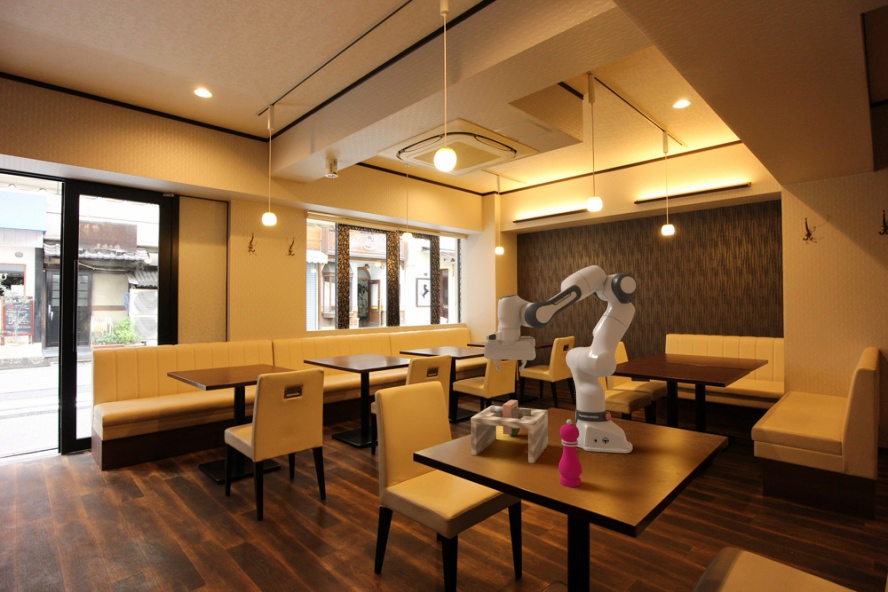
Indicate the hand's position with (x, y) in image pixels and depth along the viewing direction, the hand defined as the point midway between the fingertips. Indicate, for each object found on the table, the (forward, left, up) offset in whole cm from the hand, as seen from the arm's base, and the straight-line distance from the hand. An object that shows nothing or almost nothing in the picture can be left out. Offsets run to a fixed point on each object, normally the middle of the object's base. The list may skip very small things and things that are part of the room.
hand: (509, 370), depth 179 cm
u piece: (0, 0, -23) cm, 23 cm away
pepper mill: (-27, +26, -31) cm, 49 cm away
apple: (+5, -20, -31) cm, 37 cm away
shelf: (0, 0, -31) cm, 31 cm away
